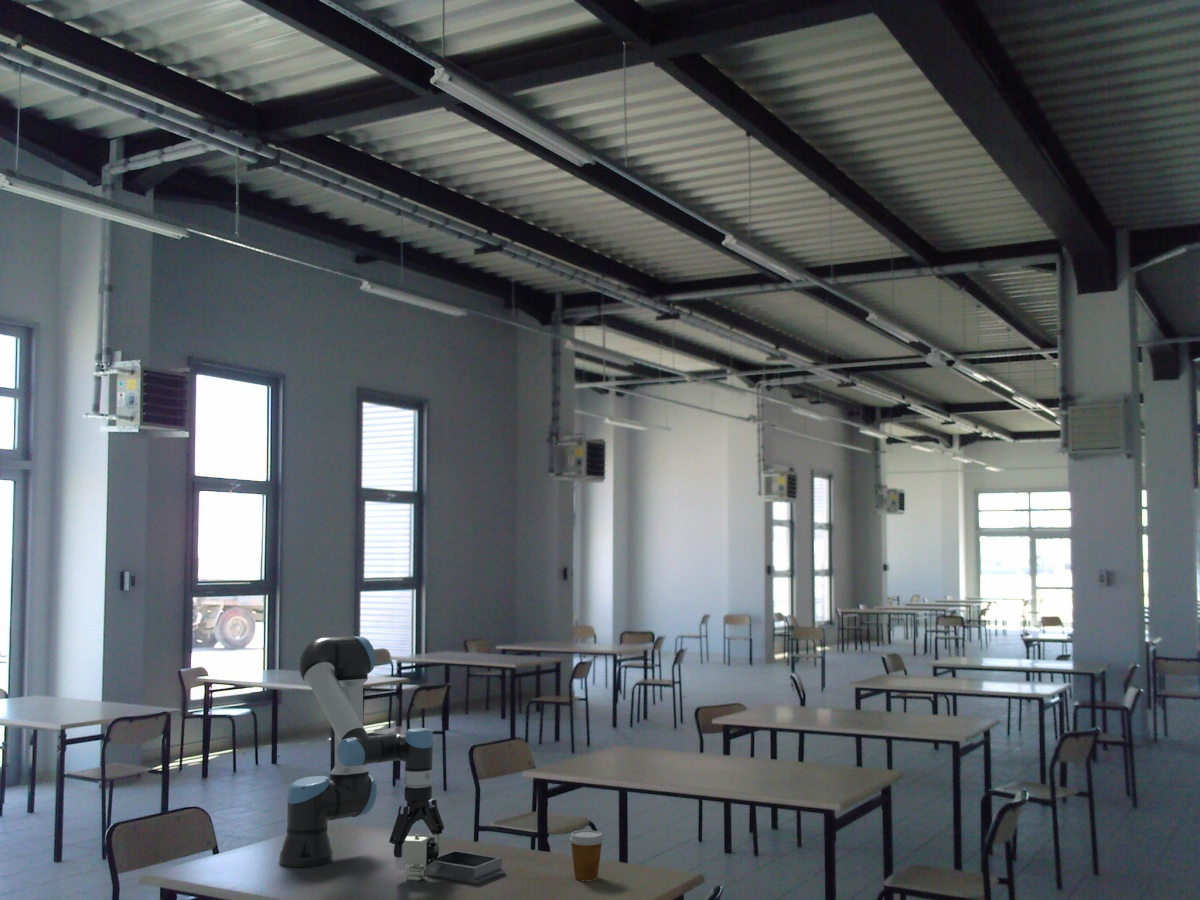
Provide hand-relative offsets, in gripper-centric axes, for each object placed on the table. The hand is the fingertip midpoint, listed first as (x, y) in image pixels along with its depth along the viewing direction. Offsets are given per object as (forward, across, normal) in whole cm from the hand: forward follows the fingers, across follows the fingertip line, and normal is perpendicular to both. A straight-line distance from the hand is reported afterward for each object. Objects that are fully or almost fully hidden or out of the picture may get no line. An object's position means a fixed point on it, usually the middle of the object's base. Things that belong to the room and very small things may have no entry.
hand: (416, 864), depth 297 cm
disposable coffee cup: (+5, +25, -40) cm, 47 cm away
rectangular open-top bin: (+4, +11, -8) cm, 14 cm away
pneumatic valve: (+4, 0, 0) cm, 4 cm away
